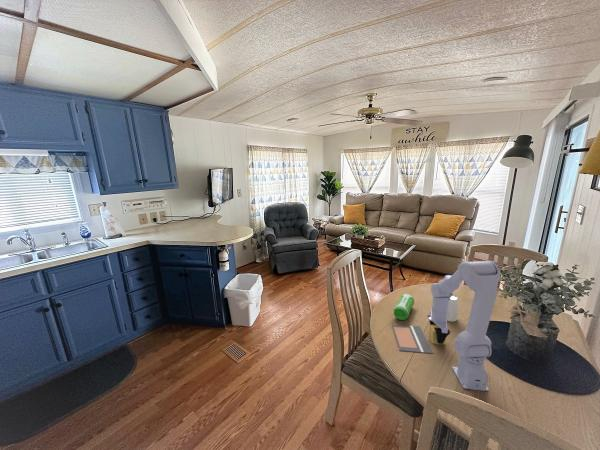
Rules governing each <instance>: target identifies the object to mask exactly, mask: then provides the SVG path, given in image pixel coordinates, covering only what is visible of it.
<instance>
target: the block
mask: <svg viewBox="0 0 600 450" xmlns="http://www.w3.org/2000/svg"><path fill="white" fill-rule="evenodd" d="M434 328H440V327H439V326H437V325H430V324H429V329H428V330H429V331H428V337H429V340H430V341H431V343H432V344H434V345H435V344H436V345H440V344H439V343H437V335H436V331H435V329H434ZM442 345H446V339H445V341H444V343H443V344H442Z"/></svg>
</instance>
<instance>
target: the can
mask: <svg viewBox="0 0 600 450" xmlns="http://www.w3.org/2000/svg"><path fill="white" fill-rule="evenodd" d="M459 301H460V300H459V297H458V296H457V295H455V294H452V296H451V297H450V301H448V308H447V318H446V320H447V322H450V323H455V322H457V320H458V314H459V313H458V312H459V303H460V302H459Z"/></svg>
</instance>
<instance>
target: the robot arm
mask: <svg viewBox="0 0 600 450" xmlns="http://www.w3.org/2000/svg"><path fill="white" fill-rule="evenodd" d="M501 274H502V272H501V271H500V269H499V267H498V265H497V264H496V263H495V262H494V261H493V260H481V261H479V260H478V261H462V262H460V264H458V265H457V270H456V271H455V272H454V273H453V274H452V275H450V274H447V275H444V278H442V279H441V280H439V281H438V283H436V282H435V283H434V282H433V283H432V284H431V285H430V293H431V295H432V306H431V309H430V313H429V314H430V315H427V319H428V321H429V326H430V325H437V326H439V327H440V328H434V329H435V331H436V335H437V343H439V344H438V345H444V344H443V343H444V341H445V342H446V340H445V339H446V338H447V337H448V336H449V335H451V331H450V329H448V327H447V326H448V321H447V320H446V318H447V308H448V301H450V297H451V296H452V295H454V294H453V292H454V291H456V290H458V289H459V288H460V286H461V285H460V284H461V283H462V282H464V283H465V284H466V285H467V287H468V289H469V290H470V291H473V292H474V295H473V301H472V304H471V308H470V313H469V317H468V321H467V324H466V329H465V330H464V331H462V332H460V333H458V336H457V338H455V339H454V344H453V346H454V350H455V352H456V354H457V355H458V359H457V361H458V362H457V366H452V370H453V372H454V373H455V375H456V377H457V379H458V381H459V383H460V385H461V386H462V388H463V389H466V390H474V391H476V390H477V391H485V392H489V391H490V389H489V387H488V386H487V385H488V378H489V373H488V372H487V371H486V367H485V365H484V364H485V361H487V358H489V357H491V356H492V352H493V351H492V340H491V339H490V338H489V336H487V335H486V334H487V331H488V329H489V325H490V321H491V319H492V314H493V310H494V306H495V303H496V299H497V295H498V285H499V281H500V278H501Z"/></svg>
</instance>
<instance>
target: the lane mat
mask: <svg viewBox="0 0 600 450" xmlns="http://www.w3.org/2000/svg"><path fill="white" fill-rule="evenodd" d="M391 327H392V330H393V333H394V337H395V340H396V343H397V346H398V350H399V352H411V353H421V354H423V353H424V354H433V353H434V352H433V350H432V348H431V346H430V344H429V342H428V340H427V337H426V336H425V334H424V332H423V329H422V328H421V326H420V325H419V326H418V325H407V324H406V325H405V324H391Z"/></svg>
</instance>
